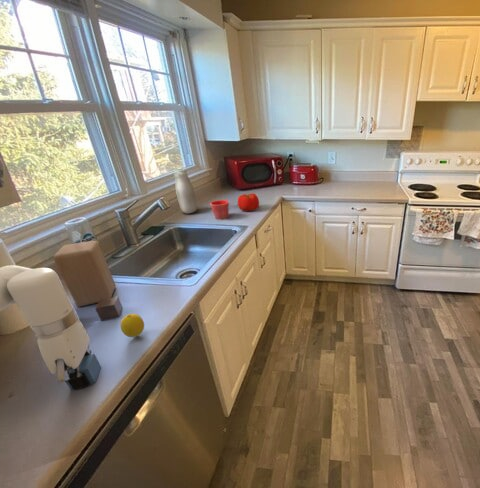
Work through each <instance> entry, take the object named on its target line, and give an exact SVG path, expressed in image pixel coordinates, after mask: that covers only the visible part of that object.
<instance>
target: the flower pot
mask: <svg viewBox="0 0 480 488" xmlns="http://www.w3.org/2000/svg"><path fill="white" fill-rule="evenodd" d="M209 206H210V208H211V209H212V213H213V216H214V218H215V219H216V220H225V219H227V218H229V214H230V213H229V211H230V210H229V209H230V202H229V201H228V200H226V199H218V200H213V201H211V202H210V205H209Z"/></svg>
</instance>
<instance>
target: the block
mask: <svg viewBox="0 0 480 488" xmlns="http://www.w3.org/2000/svg"><path fill="white" fill-rule="evenodd" d="M53 260H54V262H55V264H56V267H57V268H58V270H59V273H60V275H61V277H62V279H63V281H64V283H65V286H66V287H67V289H68V291H69V293H70V295H71V297H72V300H73V301H74V304H75V306H76V307H84V306H85V307H86V306H89V305H93V304H98V303H99V301H100V300H101V299H106V298H111V297H113V294H114V292H115V289H116V283H115V280H114V278H113V275H112V273H111V270H110V268H109V266H108V263H107V259H106V257H105V255H104V252H103V250H102V248H101V245H100V243H99V241H98V240H89V241H82V242H74V243H69V244H68V243H67V244H64V245H62V247H60V249H59V250H58V251H57V252H56V253H55V254H54V255H53Z"/></svg>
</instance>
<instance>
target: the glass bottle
mask: <svg viewBox="0 0 480 488" xmlns="http://www.w3.org/2000/svg"><path fill="white" fill-rule="evenodd" d="M173 177H174V178H175V179H174V180H175V181H174V182H175V186H174V188H175V194H176V198H177V201H178V205H179V208H180V210H181V212H182V213H184V214H188V215H189V214H190V215H191V214H194V213H195V212H196V211H197V210H198V203H197V198H196V194H195V188H194V186H193V184H192V183H191V180H190V178H189V175H188V172H187V170H185V169H181V168H180V169H177V170H174V173H173Z"/></svg>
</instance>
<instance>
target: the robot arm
mask: <svg viewBox="0 0 480 488" xmlns="http://www.w3.org/2000/svg"><path fill="white" fill-rule="evenodd" d="M14 304H16V306H17V308H18V309H19V311H20V313H21V314H22V316H23V318H24V319H25V321H26V323H27V324H28V325H29V327H30V329H31V330H32V332H33V334H34V336H35V337H36V338H37V339H36V342H37V346H38V349H39V352H40V355H41V357H42V360H43V361H44V364H45V365H46V367H47V369H48V371H49V372H50V373H51V374H52V375H57V382H58V383H63V382H66V381H67V380H68V382H69V383H70V385H71V387H72V388H73V389H72V390H74V391H76V390H80V389H83V388H85V387H86V388H87V387H89V386H90V385H91V384H90V383H89V381H88V379H87V377H86V375H85V373H82V372H81V369H80V366H79V364H80V363H81V361H82V359H83V357H84V356H87V355H91V354H93V353H92V352H93V351H92V349H91V348H90V343H91V338H90V336H89V333H88V331H87V330H86V328H85V326H84V325H83V323H82V321H81V320H80V317H79V315H78V313H77V311H76V310H75V307H74V306H73V302H72V301H71V299H70V297H69V295H68V293H67V291H66V289H65V287H64V285H63V283H62V281H61V279H60V276H59V275H58V273H57V272H56V271H55V270H54V269H52V268H50V267H49V268H48V267H37V268H30V267H26V266H21V265H14V264H10V265H4V266H1V267H0V313H1V312H3V311H4V310H6V309H7V308H8V307H10V306H12V305H14ZM67 365H68V366H67ZM70 369H75V373H70V374H69V370H70Z"/></svg>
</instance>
